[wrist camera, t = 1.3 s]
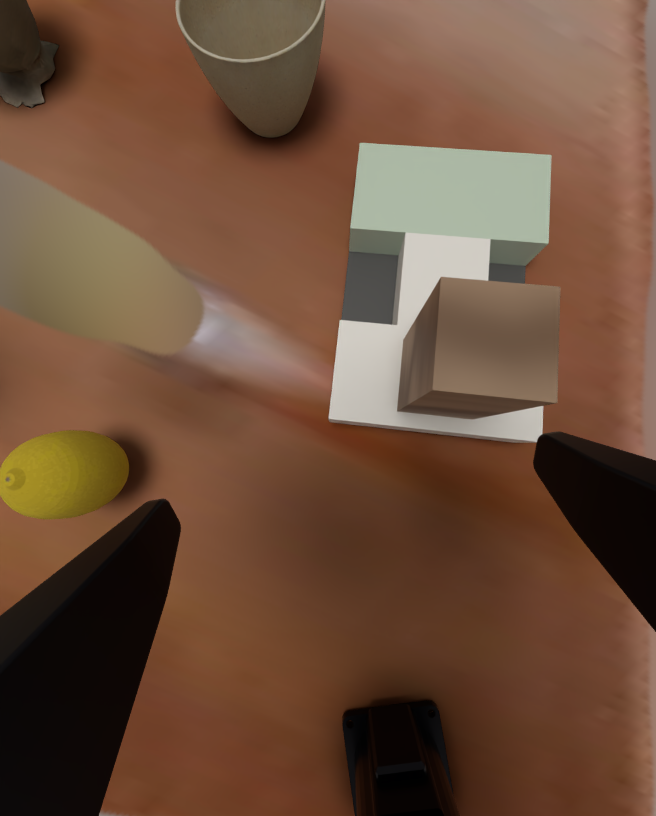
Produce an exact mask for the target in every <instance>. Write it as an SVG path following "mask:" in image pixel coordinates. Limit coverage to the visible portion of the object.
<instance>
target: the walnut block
mask: <svg viewBox="0 0 656 816" xmlns="http://www.w3.org/2000/svg"><path fill="white" fill-rule="evenodd" d="M559 318H560V287H556V286H545V285H533V284H521V283H509V282H498V281H486V280H474V279H462V278H451V277H441V278H440V279H439V281H438V283H437V284H436V286H435V288H434V289H433V291H432V293H431V294H430V296H429V298H428V299H427V301H426V303H425V304H424V306H423V308H422V309H421V311H420V313H419V314H418V316H417V318H416V319H415V321H414V323H413V324H412V326H411V328H410V329H409V331H408V333H407V334H406V336H405V338H404V339H403V348H402V359H401V371H400V382H399V393H398V405H397V411H398V412H407V413H416V414H426V415H435V416H444V417H453V418H463V419H472V420H473V419H478V418H483V417H488V416H494V415H499V414H504V413H509V412H514V411H519V410H524V409H529V408H534V407H539V406H544V405H550V404H555V403H557V391H558V354H559Z"/></svg>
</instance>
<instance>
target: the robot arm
mask: <svg viewBox="0 0 656 816" xmlns="http://www.w3.org/2000/svg"><path fill="white" fill-rule="evenodd" d="M533 465H534V469H535V471H536V473H537V475H538V476H539V478H540V479H541V481H542V482H543V484H544V485H545V487H546V488H547V490H548V491H549V493H550V494H551V496H552V498H553V499H554V501H555V502H556V504H557V505H558V507H559V508H560V510H561V511H562V513H563V514H564V516H565V517H566V519H567V520H568V522H569V523H570V525H571V526H572V527H573V529H574V530H575V532H576V533H577V534H578V535H579V537H580V538H581V539H582V541H583V542H584V543H585V544H586V546H587V547H588V548H589V549H590V551H591V552H592V553H593V554H594V556H595V557H596V558H597V559H598V561H599V562H600V563H601V564H602V566H603V567H604V568H605V569H606V571H607V572H608V573H609V574H610V575H611V577H612V578H613V579H614V580H615V582H616V583H617V584H618V585H619V587H620V588H621V589H622V590H623V592H624V593H625V594H626V595H627V597H628V598H629V599H630V600H631V602H632V603H633V604H634V605H635V607H636V608H637V609H638V610H639V612H640V613H641V614H642V615H643V617H644V618H645V619H646V620H647V622H648V623H649V624H650V625H651V627H652V628H653V629H654V630H655V632H656V461H655V460H652V459H649V458H646V457H642V456H639V455H636V454H632V453H629V452H626V451H623V450H619V449H616V448H613V447H609V446H606V445H603V444H599V443H596V442H593V441H590V440H586V439H583V438H580V437H576V436H573V435H570V434H566V433H563V432H551V433H545V434H542V435H540V436H539V437H538V440H537V444H536V450H535V455H534V460H533ZM180 532H181V525H180V522H179V520H178V518H177V516H176V514H175V512H174V510H173V509H172V507H171V505H170V503H169V502H168V501H167V500H166V499H158V500H152V501H148V502H146V503H145V504H143V505H142V506H141V507H139V508H138V509H137V510H136V511H134V512H133V513H132V514H130V515H129V516H128V517H127V518H125V519H124V520H123V521H121V522H120V523H119V524H118V525H116V526H115V527H114V528H112V529H111V530H110V531H109V532H107V533H106V534H105V535H103V536H102V537H101V538H100V539H98V540H97V541H96V542H94V543H93V544H92V545H91V546H89V547H88V548H87V549H85V550H84V551H83V552H82V553H80V554H79V555H78V556H76V557H75V558H74V559H73V560H71V561H70V562H69V563H67V564H66V565H65V566H64V567H62V568H61V569H60V570H58V571H57V572H56V573H55V574H53V575H52V576H51V577H49V578H48V579H47V580H46V581H44V582H43V583H42V584H40V585H39V586H38V587H37V588H35V589H34V590H33V591H31V592H30V593H29V594H28V595H26V596H25V597H24V598H22V599H21V600H20V601H19V602H17V603H16V604H15V605H13V606H12V607H11V608H10V609H8V610H7V611H6V612H4V613H3V614H2V615H1V616H0V816H99V813H100V810H101V806H102V803H103V800H104V797H105V794H106V790H107V787H108V784H109V781H110V778H111V774H112V771H113V768H114V765H115V762H116V758H117V755H118V752H119V749H120V746H121V742H122V739H123V736H124V733H125V730H126V726H127V723H128V720H129V717H130V714H131V710H132V707H133V704H134V701H135V697H136V694H137V691H138V688H139V685H140V681H141V678H142V675H143V672H144V669H145V665H146V662H147V659H148V656H149V653H150V649H151V646H152V643H153V640H154V637H155V633H156V630H157V627H158V624H159V621H160V617H161V614H162V611H163V608H164V604H165V601H166V597H167V594H168V589H169V585H170V581H171V576H172V571H173V566H174V561H175V557H176V552H177V547H178V542H179V537H180ZM430 709H432V710H433V712H431V713H429V712H428V711H429V710H430ZM348 720H351V721H353V722H352V723H348V722H347V721H348ZM342 722H343V732H344V740H345V747H346V754H347V761H348V769H349V776H350V783H351V790H352V797H353V805H354V812H355V816H460V815H459V812H458V809H457V806H456V802H455V799H454V795H453V790H452V784H451V778H450V773H449V767H448V761H447V755H446V750H445V744H444V738H443V732H442V727H441V721H440V715H439V711H438V708H437V706H436V704H435V703H434V702H433V701H430V700H428V701H420V702H413V703H403V704H396V705H388V706H381V707H373V708H368V709H360V710H353V711H347V712H345V713H344V715H343V720H342Z"/></svg>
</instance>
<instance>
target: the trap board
mask: <svg viewBox="0 0 656 816" xmlns="http://www.w3.org/2000/svg"><path fill="white" fill-rule="evenodd" d="M550 180H551V155H543V154H527V153H512V152H496V151H480V150H465V149H449V148H433V147H418V146H402V145H386V144H371V143H360V148H359V156H358V165H357V174H356V183H355V191H354V200H353V209H352V218H351V227H350V245H349V258H348V266H347V275H346V284H345V293H344V302H343V310H342V319H341V320H340V323H339V332H338V341H337V349H336V358H335V367H334V376H333V384H332V393H331V402H330V411H329V421H330V422H333V423H342V424H351V425H360V426H369V427H378V428H387V429H396V430H405V431H414V432H423V433H432V434H441V435H450V436H459V437H468V438H477V439H486V440H495V441H504V442H513V443H534V442H537V440H538V437H539V436H540V435H542V427H543V406H539V407H534V408H529V409H524V410H519V411H514V412H509V413H504V414H499V415H494V416H488V417H483V418H478V419H473V420H472V419H463V418H453V417H444V416H435V415H426V414H416V413H407V412H398V411H397V405H398V393H399V382H400V371H401V359H402V348H403V339H404V338H405V336H406V334H407V333H408V331H409V329H410V328H411V326H412V324H413V323H414V321H415V319H416V318H417V316H418V314H419V313H420V311H421V309H422V308H423V306H424V304H425V303H426V301H427V299H428V298H429V296H430V294H431V293H432V291H433V289H434V288H435V286H436V284H437V283H438V281H439V279H440V278H441V277H451V278H462V279H474V280H486V281H498V282H509V283H521V284H525V266H526V265H527V264H528V263H529V262H530V261H531V260H532V259H533V258H534V257H535V256H536V255H537V254H538V253H539V252H540V251H541V250H542V249H543V248H544V247H545V246H547V245H548V242H549V211H550Z"/></svg>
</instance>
